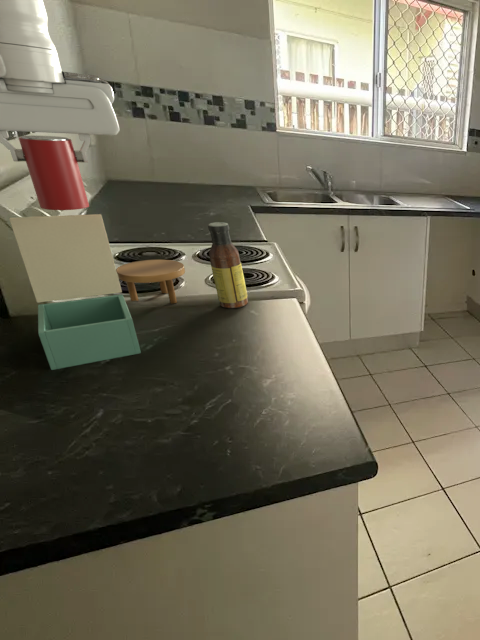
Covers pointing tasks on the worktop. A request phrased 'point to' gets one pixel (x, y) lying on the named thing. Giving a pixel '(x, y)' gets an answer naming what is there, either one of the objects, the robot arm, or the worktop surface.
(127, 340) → the box
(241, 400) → the worktop surface
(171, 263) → the stool
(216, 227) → the sauce bottle
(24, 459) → the worktop surface
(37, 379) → the worktop surface
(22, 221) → the lid
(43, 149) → the can
